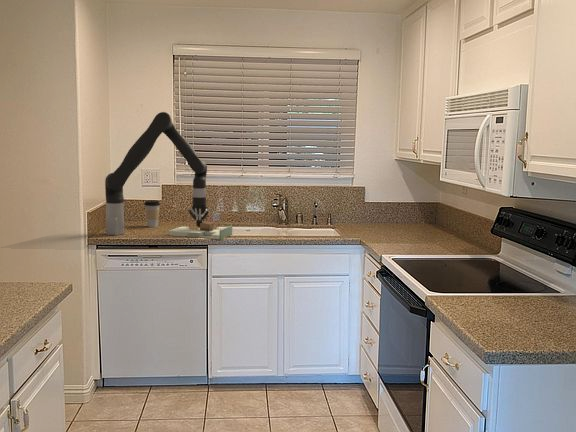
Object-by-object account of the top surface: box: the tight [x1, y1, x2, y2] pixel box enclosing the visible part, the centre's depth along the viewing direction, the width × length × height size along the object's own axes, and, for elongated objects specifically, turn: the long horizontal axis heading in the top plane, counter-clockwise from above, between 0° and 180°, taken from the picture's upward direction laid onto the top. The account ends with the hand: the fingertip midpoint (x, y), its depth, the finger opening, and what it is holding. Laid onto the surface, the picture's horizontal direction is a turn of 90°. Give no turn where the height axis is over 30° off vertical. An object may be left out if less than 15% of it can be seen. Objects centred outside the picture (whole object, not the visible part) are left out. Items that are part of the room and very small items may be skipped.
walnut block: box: [199, 221, 215, 231], centre depth 329 cm, size 6×6×4 cm
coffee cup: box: [143, 200, 161, 228], centre depth 350 cm, size 9×9×15 cm
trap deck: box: [168, 225, 233, 240], centre depth 327 cm, size 16×31×5 cm, turn 74°
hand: (199, 226), depth 332 cm, fingers closed
